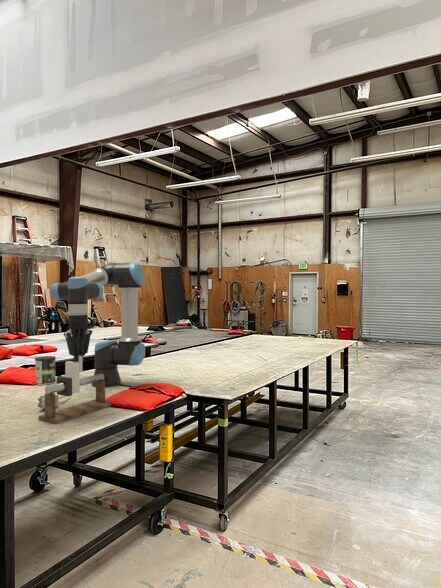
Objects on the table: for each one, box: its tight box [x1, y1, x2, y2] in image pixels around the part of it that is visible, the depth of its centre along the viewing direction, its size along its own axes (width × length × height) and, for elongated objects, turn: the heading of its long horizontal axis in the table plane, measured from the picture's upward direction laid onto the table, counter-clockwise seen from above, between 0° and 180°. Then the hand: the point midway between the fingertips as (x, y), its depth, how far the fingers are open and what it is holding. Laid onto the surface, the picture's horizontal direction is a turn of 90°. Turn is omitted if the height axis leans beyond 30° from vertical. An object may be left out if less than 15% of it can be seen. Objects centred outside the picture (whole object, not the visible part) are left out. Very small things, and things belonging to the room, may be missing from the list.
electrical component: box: [36, 394, 73, 409], centre depth 178 cm, size 24×6×5 cm, turn 179°
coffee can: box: [34, 355, 57, 386], centre depth 219 cm, size 10×10×14 cm
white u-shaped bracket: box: [64, 360, 81, 395], centre depth 162 cm, size 4×6×12 cm, turn 59°
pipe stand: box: [38, 380, 112, 425], centre depth 164 cm, size 28×10×10 cm, turn 149°
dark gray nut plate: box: [56, 375, 73, 398], centre depth 159 cm, size 2×7×7 cm, turn 59°
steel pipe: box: [44, 374, 104, 394], centre depth 164 cm, size 27×3×3 cm, turn 149°
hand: (78, 371), depth 165 cm, fingers closed
